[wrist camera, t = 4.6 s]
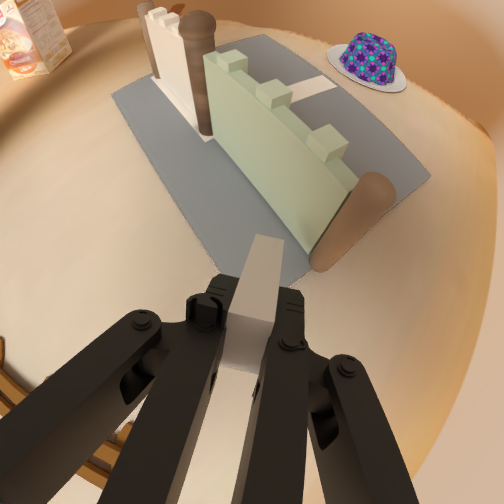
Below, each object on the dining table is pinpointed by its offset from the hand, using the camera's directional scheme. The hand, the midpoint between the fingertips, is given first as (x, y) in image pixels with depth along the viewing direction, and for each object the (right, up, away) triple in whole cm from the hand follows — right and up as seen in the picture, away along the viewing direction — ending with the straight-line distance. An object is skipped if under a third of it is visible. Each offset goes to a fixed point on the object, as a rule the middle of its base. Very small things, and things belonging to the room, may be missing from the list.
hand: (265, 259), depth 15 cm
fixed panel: (-9, +18, +12) cm, 23 cm away
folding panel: (+1, +5, +7) cm, 9 cm away
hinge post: (-5, +12, +10) cm, 17 cm away
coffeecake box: (-42, +36, +18) cm, 58 cm away
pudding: (+15, +26, +16) cm, 34 cm away
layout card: (0, +14, +11) cm, 18 cm away
